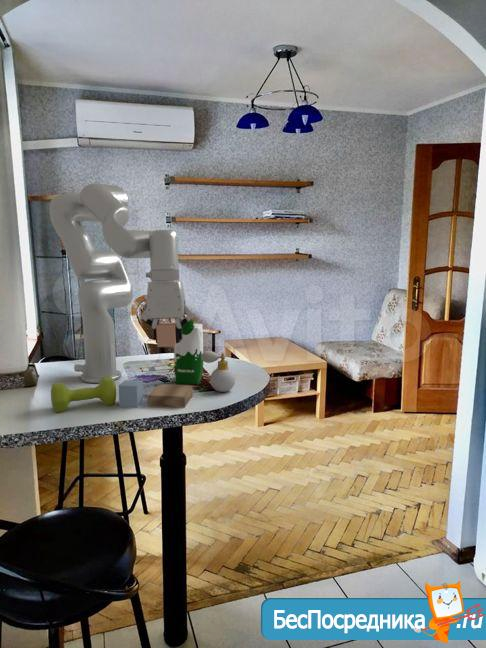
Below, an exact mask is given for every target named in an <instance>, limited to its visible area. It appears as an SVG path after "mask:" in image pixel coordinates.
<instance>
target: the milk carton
mask: <svg viewBox="0 0 486 648" xmlns="http://www.w3.org/2000/svg"><path fill="white" fill-rule="evenodd" d="M181 319H182V318H181ZM183 319H184V318H183ZM183 319H182V320H183ZM194 322H195V321H194V319H193V318H191V319H190V320H189V321H188V322H187V323H186V324H185V325H184V326H183V327H182V337H183V338H182V340H181V342H179V344H178V345H177V346H176V347H173V359H174V363H173V365H174V366H173V367H174V377H175V385H199V384H200V382H201V380H202V379H203V371H204V361H203V360H202V358H201V355H202V353H203V352H204V331H203V323H194Z"/></svg>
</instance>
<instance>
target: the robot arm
mask: <svg viewBox="0 0 486 648" xmlns="http://www.w3.org/2000/svg"><path fill="white" fill-rule="evenodd" d="M128 206H129V197H128V194H127V193H126V191H125V190H124V188H122V187H121V186H118V185H112V184H103V183H90V184H89V183H88V184H87V185H84V186H83V187H82V188H81V190H80V193H74V192H67V193H66V192H65V193H64V192H63V193H59V194H57V195H55V196H53V197H52V199H51V201H50V204H49V217H50V221H51V224H52V226H53V229H54V230H55V232H56V234H57V235H58V237H59V238H60V241H61V242H62V245H63V248H64V250H65V252H66V253H65V254H66V255H67V258H68V261H69V263H70V266H71V269H72V271H73V273H74V275H75V276H76V277H77V278H78V279H81V280H89V281H84V282H83V283H82V284H81V285H80V286H79V288H78V289H77V299H78V303H79V308H80V311H81V318H82V330H83V333H82V334H83V346H84V347H83V348H84V349H83V351H84V363H83V364H81V363H80V364H74V365H73V369H74V372H77V373H78V372H81V373H82V374H81V375H80V380H81V381H82V382H85V383H91V384H99V383H100V381H101V379H102V378H104V377H111V378H112V379H113V380H114V381H116V380H117V381H118V380H119V379H120V378H121V377H122V372H121V371H120V370H119V369H117V357H116V356H117V355H116V354H117V353H116V352H117V351H116V334H115V333H116V331H115V323H114V320H113V318H112V316H111V315H110V313H109V312H108V311H109V310H111V309H112V310H113V309H119V308H124V307H127V306H129V305H130V304H131V303H132V302H133V299H134V298H133V297H134V292H133V287H132V284H131V281H130V278H129V276H128V274H127V271H126V269H125V265H124V264H123V261H122V258H124V259H149V261H150V270H149V272H145V277H146V278H149V279H150V281H149V282H147V289H146V290H147V291H146V307H145V309H144V310H143V312H142V313H141V315H140V318H141V320H143V321H145V322H146V324H147V325H149V326H150V327H151V329H152V330H153V340H154V341H155V344H157V332H156V325H158V324H159V323H161V322H160V321H161V320H162V319H164V320H165V319H168V320H169V319H173V320H174V322H176V325H177V326H176V328H177V329H176V330H175V331H176V343H179V342H181V340H182V338H183V337H182V327H183V326H184V325H185V324H186V323H187V322H188V321H189V320H190V319H193V318H194V316H195V315H194V313H193V311H191V310H190V308H189V307H188V306H187V305H186V304H187V303H186V296H185V290H184V284H183V282H182V280H180V266H179V265H180V264H179V246H178V245H179V244H178V243H179V242H178V234H177V232H176V231H175V230H172V229H156V230H144V229H143V230H142V229H141V230H140V229H139V230H138V229H135V230H134V229H132V230H131V229H130V230H129V229H126V228H125V226H126V225H127V224H128V223H129V218H130V211H129V208H128ZM77 222H93V223H95V222H97V223H98V222H100V223H101V225H102V227H101V229H102V230H101V231H102V236H103V239H104V241H105V243H106V244H107V246H108V247H109V248H110V249H109V248H108V249H107V248H105V249H104V248H102V249H101V248H96V247H95V246H94V244H93V242H92V239H91V237H90V235H89V234H88V232H87V230H86V229H84V227H82V225H80V224H79V223H77ZM121 257H122V258H121ZM183 316H185V317H184V318H183ZM182 318H183V320H182Z"/></svg>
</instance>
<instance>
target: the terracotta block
mask: <svg viewBox="0 0 486 648" xmlns="http://www.w3.org/2000/svg"><path fill="white" fill-rule="evenodd" d="M176 326H177V325H176V322H175V321H174V322H172V321H171V322H167V321H166V322H159V324H158V325H156V332H157V343H156V346H157V348H174V347H176V346H177V345H178V344H179V343H176V331H175V330H176V329H177V328H176Z"/></svg>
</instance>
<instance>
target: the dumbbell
mask: <svg viewBox="0 0 486 648" xmlns="http://www.w3.org/2000/svg"><path fill="white" fill-rule="evenodd" d="M93 399H99V400H100V401H101V403H102V404H103V405H105V406H113V405H115V403H116V401H117V387H116V382H115V380H113V379H112V378H111V377H104V378H102V379H101V381H100V383H98V385H97V386H94V387H84V388H77V389H69V388H68V386H67V385H66V384H65V383H63V382H55V383H53V384H52V385H51V388H50V401H51V402H50V403H51V406H52V409H53V410H54V413H55V412H56V413H63V412H66V411H67V410H68V407H69V404H70V403H71V402H81V401H86V400H87V401H88V400H93Z"/></svg>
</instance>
